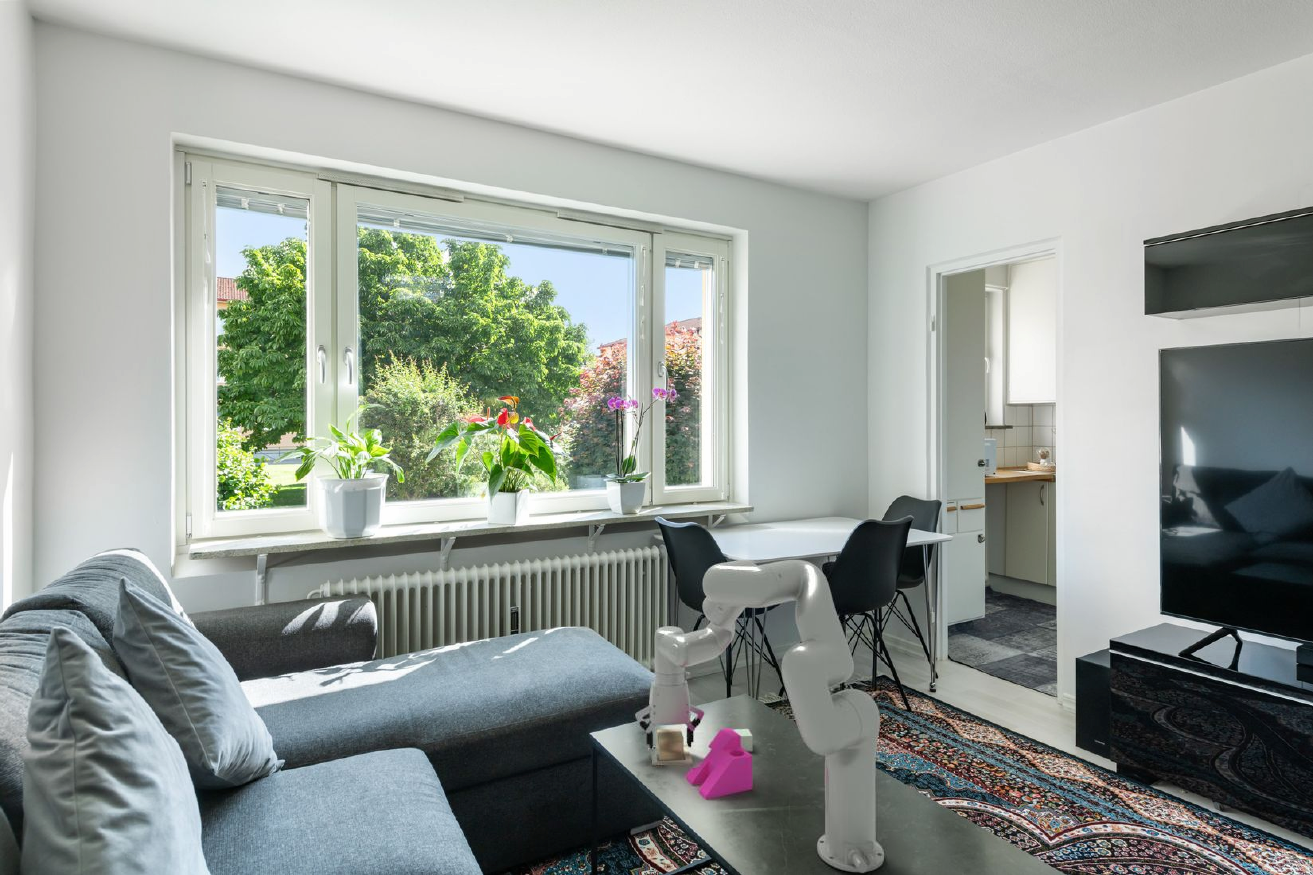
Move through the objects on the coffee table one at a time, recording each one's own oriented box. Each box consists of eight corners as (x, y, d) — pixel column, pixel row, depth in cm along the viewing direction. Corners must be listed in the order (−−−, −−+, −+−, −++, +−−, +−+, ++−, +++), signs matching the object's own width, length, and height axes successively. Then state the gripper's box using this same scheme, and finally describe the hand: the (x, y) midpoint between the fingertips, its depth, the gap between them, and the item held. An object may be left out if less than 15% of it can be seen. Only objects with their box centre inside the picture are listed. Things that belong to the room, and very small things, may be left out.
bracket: (730, 770, 173) (729, 727, 173) (752, 789, 164) (752, 744, 164) (685, 779, 169) (685, 736, 169) (705, 799, 159) (705, 753, 159)
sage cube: (752, 753, 183) (752, 735, 183) (735, 754, 182) (735, 736, 182) (748, 745, 187) (748, 728, 187) (731, 746, 187) (731, 729, 187)
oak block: (680, 748, 183) (680, 728, 183) (683, 758, 177) (683, 738, 177) (657, 749, 182) (657, 729, 182) (659, 759, 176) (659, 739, 176)
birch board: (692, 766, 175) (692, 761, 175) (652, 768, 174) (652, 763, 174) (686, 748, 185) (686, 744, 185) (648, 750, 184) (648, 746, 184)
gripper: (701, 671, 184) (701, 738, 184) (634, 674, 183) (634, 741, 183) (706, 681, 177) (706, 750, 177) (636, 683, 175) (636, 754, 175)
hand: (669, 745), depth 180 cm, fingers open, 9 cm apart
